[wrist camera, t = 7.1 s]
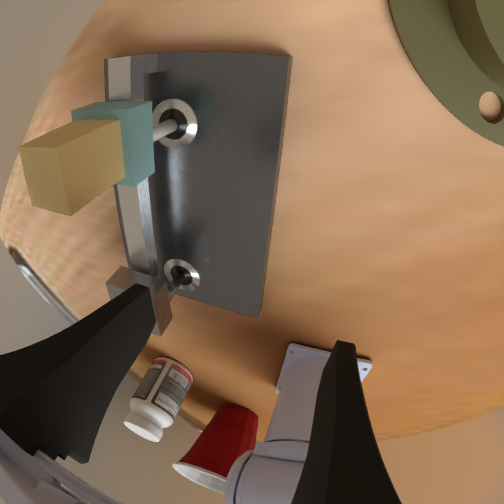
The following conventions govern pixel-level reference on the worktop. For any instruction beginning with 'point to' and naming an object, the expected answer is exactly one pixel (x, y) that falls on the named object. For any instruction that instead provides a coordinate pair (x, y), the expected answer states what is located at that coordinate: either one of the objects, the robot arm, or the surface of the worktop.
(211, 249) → the hole plate
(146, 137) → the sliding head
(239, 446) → the plastic cup
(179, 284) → the rail
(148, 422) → the pill bottle
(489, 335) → the worktop surface
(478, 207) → the worktop surface
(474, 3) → the flange
